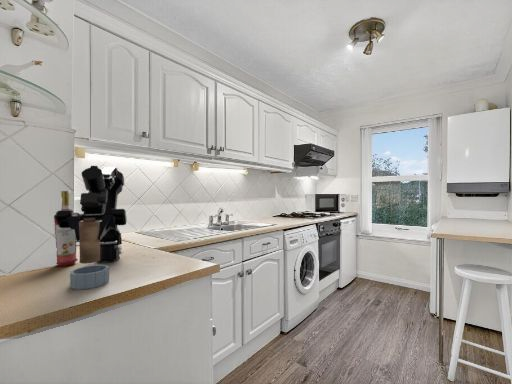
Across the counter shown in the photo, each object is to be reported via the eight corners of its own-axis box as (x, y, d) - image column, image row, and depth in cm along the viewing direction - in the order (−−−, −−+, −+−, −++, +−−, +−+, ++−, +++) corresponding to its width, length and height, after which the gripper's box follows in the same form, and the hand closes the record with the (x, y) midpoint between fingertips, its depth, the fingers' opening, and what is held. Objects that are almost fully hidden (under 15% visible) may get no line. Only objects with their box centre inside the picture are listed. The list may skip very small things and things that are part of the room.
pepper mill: (75, 262, 78) (75, 218, 78) (93, 258, 83) (92, 216, 83) (86, 264, 76) (86, 219, 76) (103, 259, 81) (103, 217, 81)
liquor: (79, 261, 105) (78, 190, 105) (76, 265, 99) (75, 190, 99) (57, 263, 102) (55, 191, 102) (52, 268, 96) (51, 191, 95)
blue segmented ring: (62, 290, 74) (62, 275, 74) (83, 278, 84) (83, 265, 84) (98, 289, 75) (97, 274, 75) (114, 277, 85) (114, 264, 85)
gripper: (56, 183, 80) (41, 225, 70) (125, 183, 86) (120, 221, 76) (65, 208, 87) (53, 248, 77) (128, 206, 94) (124, 243, 83)
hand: (88, 240), depth 78 cm, fingers closed on pepper mill, 5 cm apart
